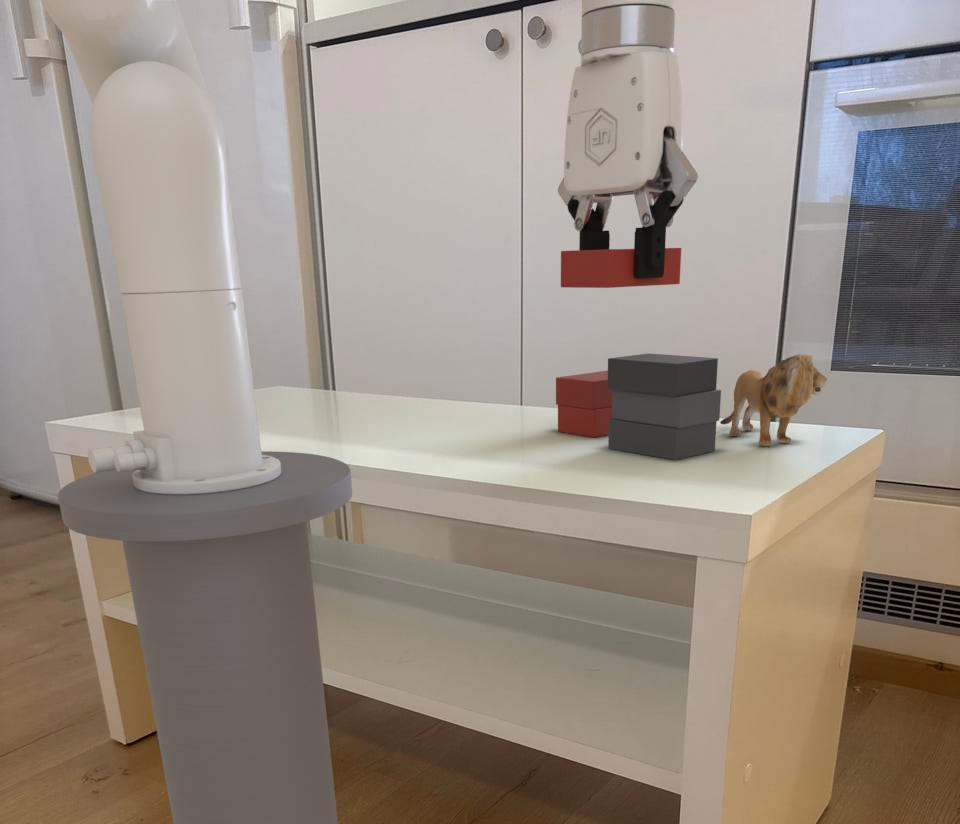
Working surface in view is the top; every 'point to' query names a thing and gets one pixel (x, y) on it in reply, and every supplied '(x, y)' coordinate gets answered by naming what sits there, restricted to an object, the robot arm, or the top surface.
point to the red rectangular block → (613, 269)
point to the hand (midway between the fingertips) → (620, 275)
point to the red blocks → (584, 404)
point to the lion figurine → (775, 395)
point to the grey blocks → (663, 405)
